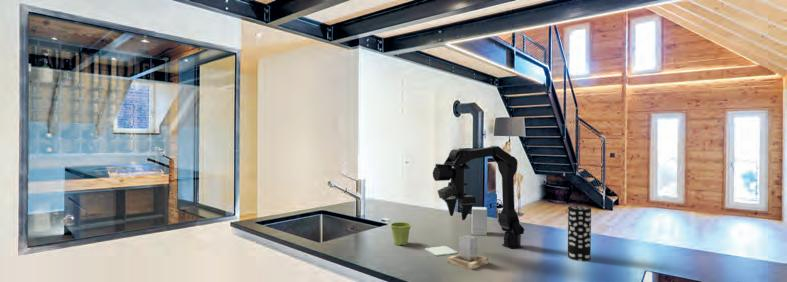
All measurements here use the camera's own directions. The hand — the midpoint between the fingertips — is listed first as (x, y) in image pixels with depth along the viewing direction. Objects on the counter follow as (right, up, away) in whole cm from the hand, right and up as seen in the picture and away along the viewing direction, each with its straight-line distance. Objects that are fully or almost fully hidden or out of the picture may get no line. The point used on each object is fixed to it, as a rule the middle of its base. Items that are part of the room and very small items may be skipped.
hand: (457, 217), depth 163 cm
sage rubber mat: (-6, -15, +3) cm, 16 cm away
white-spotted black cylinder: (+48, -15, -5) cm, 50 cm away
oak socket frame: (+2, -15, -12) cm, 19 cm away
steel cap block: (+2, -15, -12) cm, 19 cm away
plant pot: (-23, -15, +14) cm, 31 cm away
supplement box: (+16, -15, +34) cm, 41 cm away
